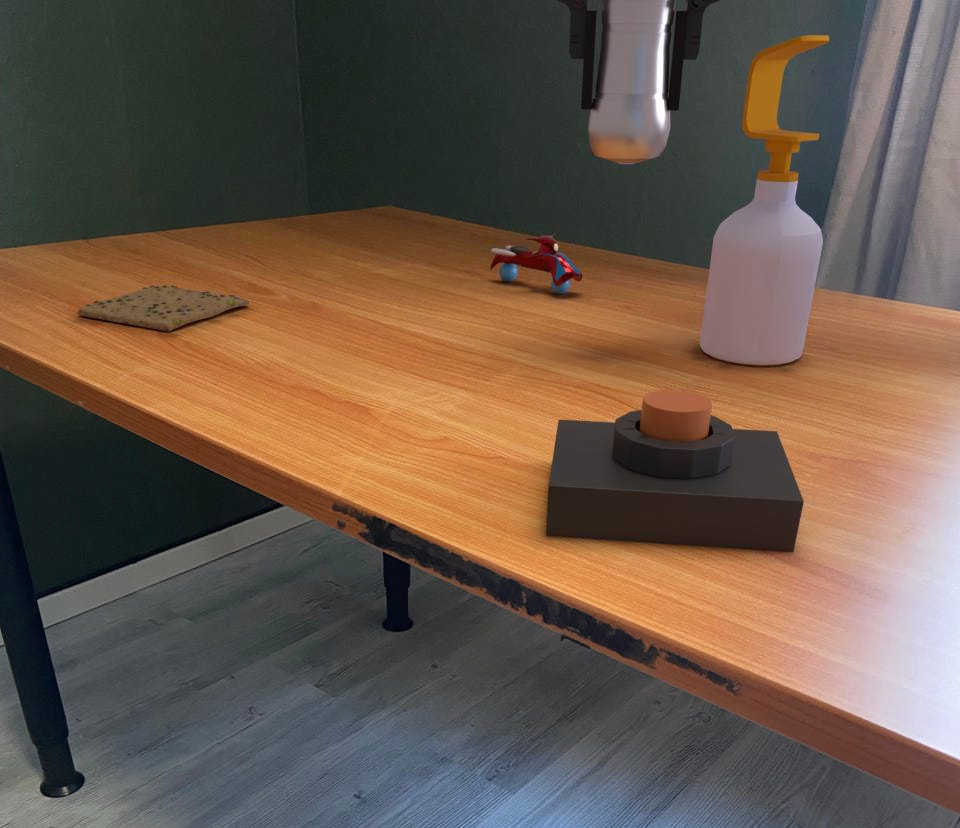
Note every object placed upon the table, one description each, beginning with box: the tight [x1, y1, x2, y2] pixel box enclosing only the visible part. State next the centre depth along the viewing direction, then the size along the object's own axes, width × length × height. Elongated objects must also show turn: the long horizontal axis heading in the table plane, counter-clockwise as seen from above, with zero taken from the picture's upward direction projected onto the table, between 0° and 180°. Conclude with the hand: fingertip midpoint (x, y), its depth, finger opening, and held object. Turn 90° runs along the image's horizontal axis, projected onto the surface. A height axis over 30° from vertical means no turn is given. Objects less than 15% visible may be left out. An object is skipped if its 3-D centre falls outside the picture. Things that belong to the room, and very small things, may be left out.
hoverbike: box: [489, 233, 583, 295], centre depth 109 cm, size 5×12×6 cm, turn 45°
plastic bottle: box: [587, 0, 677, 165], centre depth 75 cm, size 6×7×20 cm
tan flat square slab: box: [77, 285, 250, 332], centre depth 99 cm, size 12×12×1 cm
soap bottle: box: [699, 34, 830, 367], centre depth 83 cm, size 9×9×25 cm
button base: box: [545, 409, 805, 553], centre depth 60 cm, size 14×11×5 cm
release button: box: [639, 388, 713, 442], centre depth 58 cm, size 4×4×2 cm
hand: (629, 108), depth 78 cm, fingers closed on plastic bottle, 6 cm apart
